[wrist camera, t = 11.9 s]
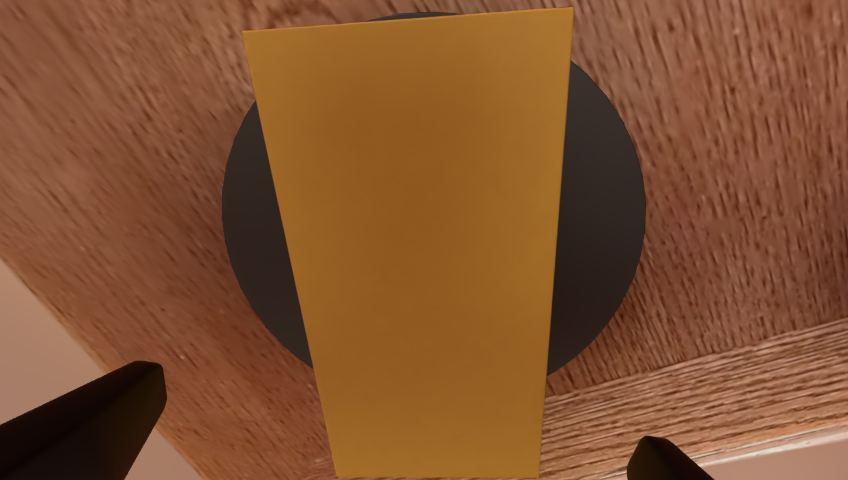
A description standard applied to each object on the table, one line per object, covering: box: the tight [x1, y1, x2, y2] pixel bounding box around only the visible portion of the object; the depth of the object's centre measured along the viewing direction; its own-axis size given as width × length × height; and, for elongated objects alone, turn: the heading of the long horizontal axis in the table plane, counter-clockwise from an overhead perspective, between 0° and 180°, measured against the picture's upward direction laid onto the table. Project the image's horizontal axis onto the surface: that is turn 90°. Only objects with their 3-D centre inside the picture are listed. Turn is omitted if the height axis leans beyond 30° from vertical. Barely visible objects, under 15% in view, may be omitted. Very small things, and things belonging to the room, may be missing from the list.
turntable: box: [222, 12, 646, 376], centre depth 15 cm, size 15×15×1 cm
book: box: [242, 7, 574, 478], centre depth 13 cm, size 14×7×3 cm, turn 4°
